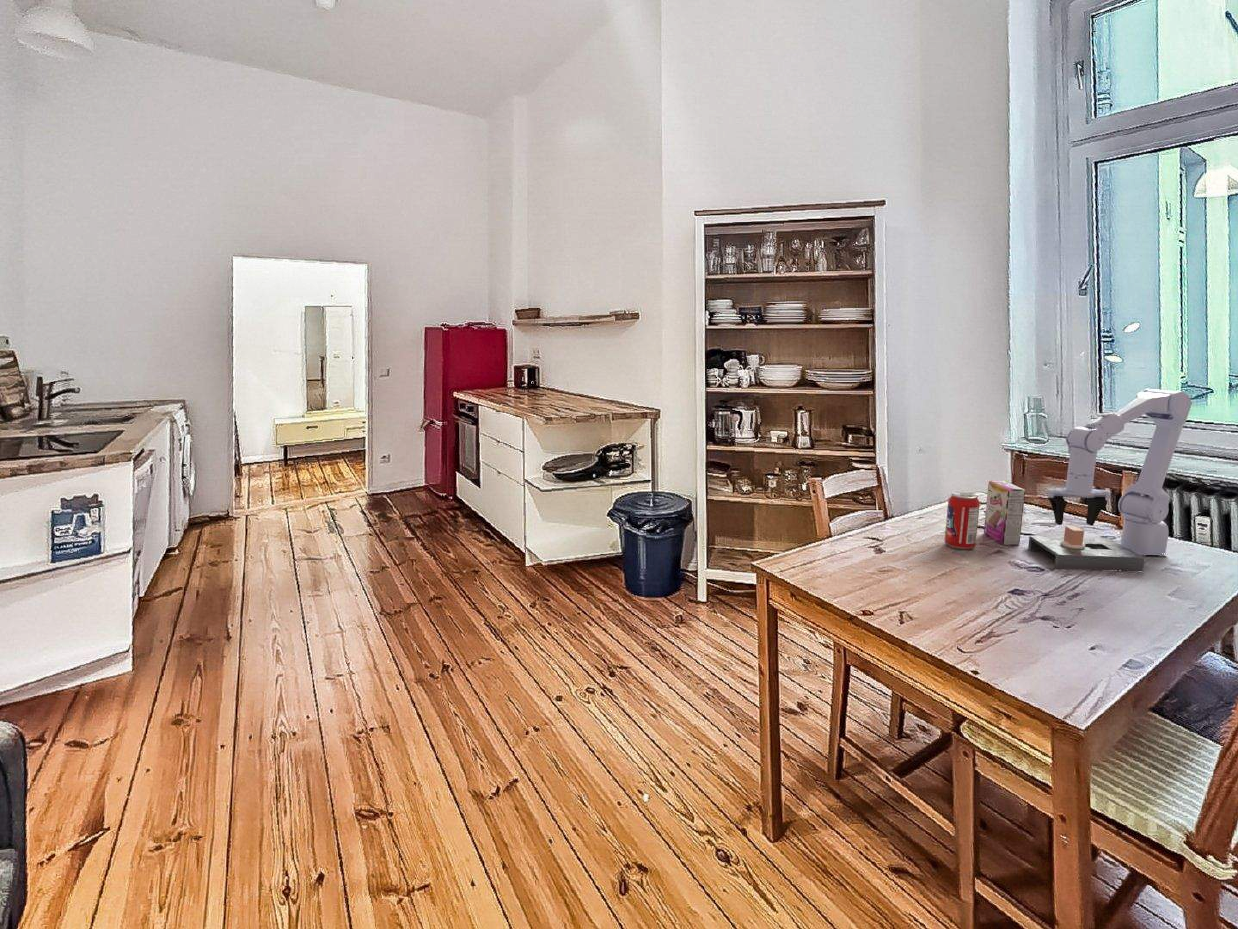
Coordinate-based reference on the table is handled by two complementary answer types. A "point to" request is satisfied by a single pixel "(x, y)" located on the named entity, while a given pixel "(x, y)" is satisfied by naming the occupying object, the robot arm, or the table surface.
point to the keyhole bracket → (1089, 554)
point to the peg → (1073, 538)
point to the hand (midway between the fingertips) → (1074, 524)
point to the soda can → (962, 520)
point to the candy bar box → (1004, 512)
